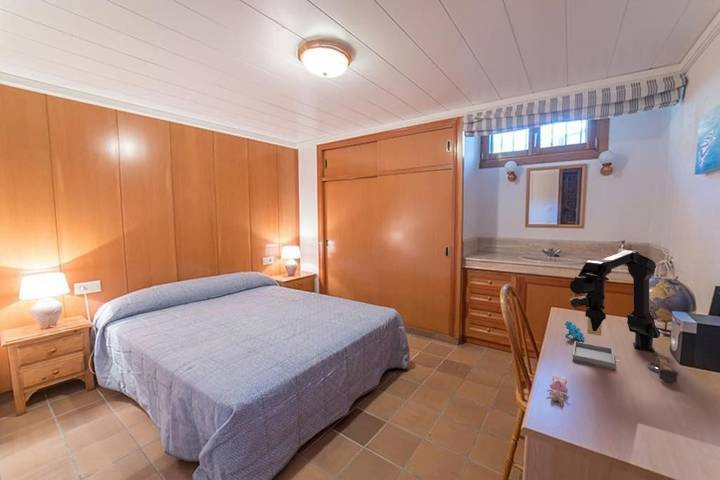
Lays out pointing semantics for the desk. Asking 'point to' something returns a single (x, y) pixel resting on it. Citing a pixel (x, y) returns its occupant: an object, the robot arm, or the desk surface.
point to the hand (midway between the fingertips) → (594, 329)
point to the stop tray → (594, 355)
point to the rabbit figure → (558, 389)
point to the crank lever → (665, 370)
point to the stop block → (590, 330)
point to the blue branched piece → (574, 331)
